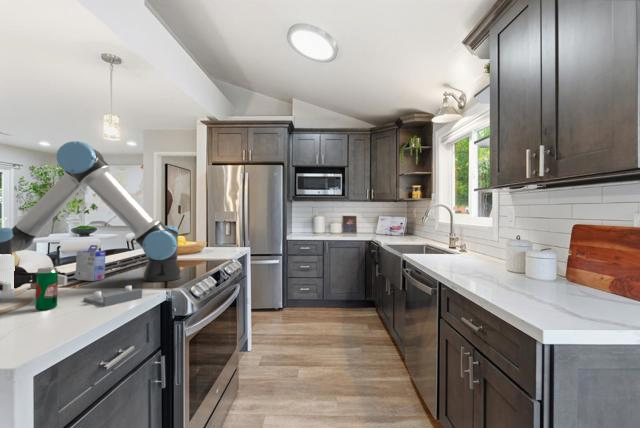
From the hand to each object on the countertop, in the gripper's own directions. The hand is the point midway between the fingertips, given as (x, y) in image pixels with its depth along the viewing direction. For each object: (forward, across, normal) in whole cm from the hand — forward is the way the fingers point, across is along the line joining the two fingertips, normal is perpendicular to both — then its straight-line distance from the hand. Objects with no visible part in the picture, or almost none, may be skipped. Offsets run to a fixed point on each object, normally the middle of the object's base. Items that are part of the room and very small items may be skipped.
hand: (39, 284), depth 97 cm
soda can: (+3, -1, -7) cm, 8 cm away
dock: (+9, -17, -7) cm, 20 cm away
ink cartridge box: (-30, -29, -7) cm, 43 cm away
